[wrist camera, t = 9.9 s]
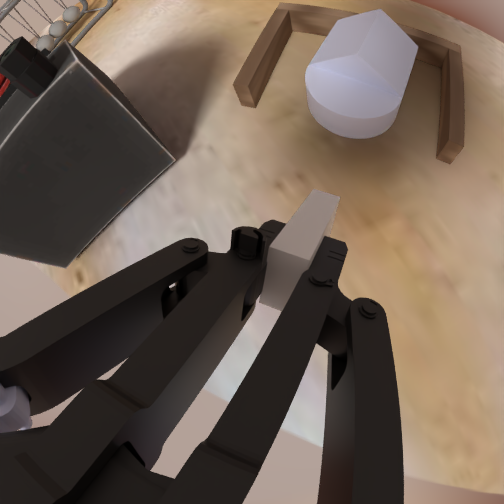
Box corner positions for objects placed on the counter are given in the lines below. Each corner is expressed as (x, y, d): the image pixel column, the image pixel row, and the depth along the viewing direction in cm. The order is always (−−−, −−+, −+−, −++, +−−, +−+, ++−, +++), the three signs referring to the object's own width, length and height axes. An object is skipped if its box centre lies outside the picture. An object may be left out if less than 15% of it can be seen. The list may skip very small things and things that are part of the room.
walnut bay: (452, 65, 25) (460, 45, 21) (450, 164, 23) (463, 146, 20) (284, 23, 30) (280, 2, 27) (241, 105, 28) (232, 84, 25)
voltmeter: (121, 91, 33) (28, -8, 14) (182, 166, 29) (42, 23, 9) (39, 176, 34) (-70, 117, 14) (74, 270, 29) (-90, 229, 10)
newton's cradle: (89, 7, 43) (50, -40, 26) (117, 1, 40) (76, -55, 23) (5, 116, 41) (-53, 78, 24) (22, 122, 38) (-45, 76, 21)
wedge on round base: (338, 40, 28) (292, 118, 27) (337, -3, 22) (284, 71, 21) (412, 67, 26) (382, 153, 25) (424, 24, 19) (397, 111, 18)
